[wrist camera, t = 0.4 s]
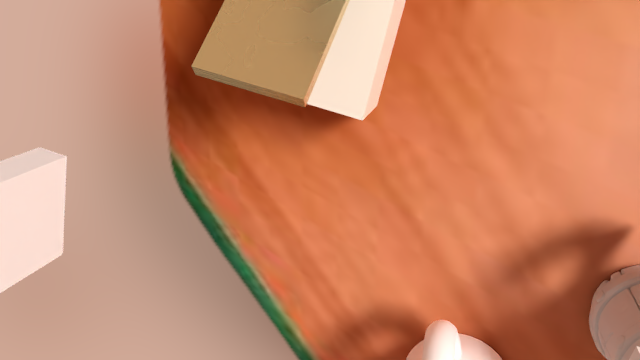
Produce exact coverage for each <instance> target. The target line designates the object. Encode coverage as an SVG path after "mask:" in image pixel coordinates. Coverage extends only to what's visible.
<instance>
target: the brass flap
mask: <svg viewBox="0 0 640 360" xmlns="http://www.w3.org/2000/svg"><path fill="white" fill-rule="evenodd" d="M349 1H350V0H225V1H224V3H223V5H222V7H221V9H220V11H219V13H218V14H217V16H216V18H215V20H214V22H213V24H212V26H211V28H210V30H209V32H208V34H207V36H206V38H205V40H204V42H203V44H202V46H201V48H200V50H199V52H198V54H197V56H196V58H195V60H194V62H193V64H192V66H191V67H192V69H193V70H194V72H195V74H196V75H198V76H202V77H205V78H208V79H212V80H215V81H218V82H222V83H225V84H228V85H232V86H235V87H238V88H242V89H245V90H248V91H252V92H255V93H258V94H262V95H265V96H268V97H272V98H275V99H278V100H282V101H285V102H288V103H292V104H295V105H298V106H302V107H306V105H307V102H308V100H309V97H310V95H311V93H312V90H313V88H314V85H315V83H316V81H317V78H318V76H319V73H320V71H321V69H322V66H323V64H324V61H325V59H326V57H327V54H328V52H329V49H330V47H331V45H332V42H333V40H334V37H335V35H336V33H337V30H338V28H339V25H340V23H341V21H342V18H343V16H344V13H345V11H346V9H347V6H348V4H349Z"/></svg>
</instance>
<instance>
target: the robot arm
mask: <svg viewBox="0 0 640 360" xmlns="http://www.w3.org/2000/svg"><path fill="white" fill-rule="evenodd" d="M66 161H67V156H65V155H61V154H59V153H56V152H52V151H49V150H46V149H43V148H40V147H39V148H36V149H33V150H31V151H28V152H25V153H22V154H19V155H17V156H13V157H11V158H8V159H5V160H2V161H0V293H1V292H3V291H4V290H6V289H8V288H9V287H11V286H12V285H14V284H16V283H17V282H19V281H20V280H22V279H24V278H25V277H27V276H28V275H30V274H32V273H33V272H35V271H36V270H38V269H40V268H41V267H43V266H44V265H46V264H48V263H49V262H51V261H52V260H54V259H56V258H57V257H59V256H60V255H62V254H63V238H64V237H63V236H64V213H65V210H64V209H65V187H66ZM629 360H640V347H638V346H636V347H635V349H634V351H633V353H632V355H631V357H630V359H629Z"/></svg>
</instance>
